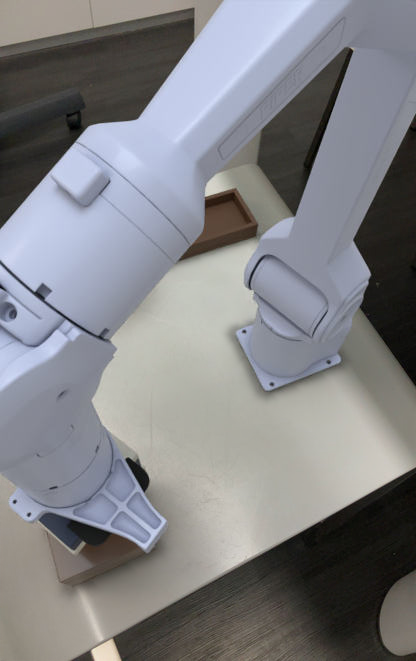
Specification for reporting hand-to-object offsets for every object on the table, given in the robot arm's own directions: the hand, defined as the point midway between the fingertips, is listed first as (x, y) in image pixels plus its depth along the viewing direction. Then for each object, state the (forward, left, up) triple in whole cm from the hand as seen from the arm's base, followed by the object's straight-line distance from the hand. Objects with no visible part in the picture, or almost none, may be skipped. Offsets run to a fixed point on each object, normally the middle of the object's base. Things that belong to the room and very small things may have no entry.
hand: (91, 492), depth 40 cm
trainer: (0, 0, -1) cm, 1 cm away
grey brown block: (+1, +1, -10) cm, 10 cm away
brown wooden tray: (-22, -29, -10) cm, 38 cm away
